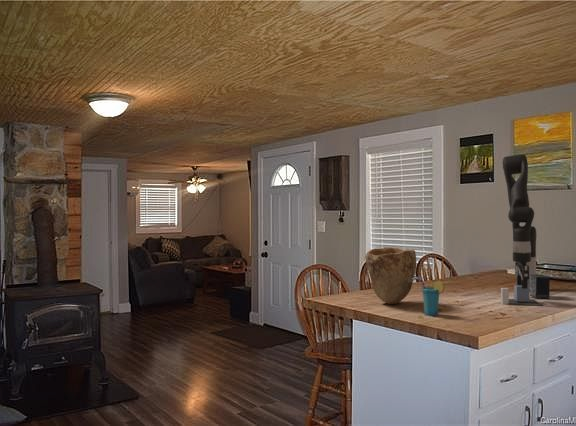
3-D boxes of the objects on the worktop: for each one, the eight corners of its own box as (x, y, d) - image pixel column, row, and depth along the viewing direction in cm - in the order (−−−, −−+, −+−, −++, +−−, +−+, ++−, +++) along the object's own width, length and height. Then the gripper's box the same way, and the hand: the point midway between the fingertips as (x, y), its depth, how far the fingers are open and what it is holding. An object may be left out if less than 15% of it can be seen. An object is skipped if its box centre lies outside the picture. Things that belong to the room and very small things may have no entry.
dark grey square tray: (501, 299, 237) (501, 284, 237) (533, 300, 234) (533, 285, 234) (508, 305, 223) (508, 289, 223) (543, 306, 221) (542, 290, 221)
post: (501, 303, 228) (501, 287, 228) (507, 303, 228) (507, 287, 228) (502, 304, 226) (502, 288, 226) (508, 304, 225) (508, 288, 225)
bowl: (357, 301, 236) (356, 248, 236) (396, 297, 245) (396, 246, 245) (384, 310, 216) (383, 251, 216) (427, 305, 225) (426, 249, 224)
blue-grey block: (514, 299, 232) (514, 285, 232) (526, 299, 231) (526, 285, 231) (516, 301, 227) (516, 286, 227) (529, 301, 226) (529, 286, 226)
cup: (408, 314, 207) (408, 277, 207) (416, 311, 213) (416, 275, 213) (442, 318, 199) (441, 280, 199) (449, 314, 205) (448, 277, 205)
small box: (550, 299, 236) (550, 277, 236) (535, 299, 238) (535, 276, 238) (543, 295, 247) (543, 274, 247) (529, 295, 248) (529, 274, 248)
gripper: (509, 249, 236) (509, 284, 237) (516, 252, 222) (517, 289, 223) (526, 249, 235) (526, 284, 235) (535, 252, 221) (535, 289, 221)
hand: (522, 286), depth 229 cm, fingers open, 8 cm apart
